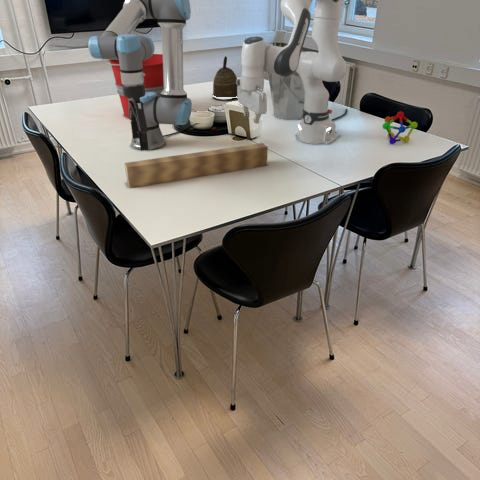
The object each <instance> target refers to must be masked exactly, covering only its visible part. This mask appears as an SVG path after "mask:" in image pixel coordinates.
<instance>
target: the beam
mask: <svg viewBox="0 0 480 480" xmlns="http://www.w3.org/2000/svg"><path fill="white" fill-rule="evenodd" d="M268 150H269V149H268V146H267V145H266V144H265V143H263V142H260V143H255V144H254V143H252V144H247V145H239V146H232V147H226V148H218V149H212V150H211V149H210V150H205V151H197V152H190V153H184V154H183V153H182V154H177V155H170V156H169V155H168V156H163V157H155V158H150V159H142V160H135V161H129V162H124V170H125V175H126V176H125V178H126V184H127V185H128V188H129V189H130V188H137V187H143V186H149V185H155V184H160V183H167V182H173V181H180V180H186V179H191V178H199V177H205V176H209V175H216V174H221V173H228V172H229V173H230V172H235V171H239V170H240V171H241V170H245V169H251V168H252V169H253V168H259V167H266V166H267V165H268Z"/></svg>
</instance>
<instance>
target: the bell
mask: <svg viewBox="0 0 480 480" xmlns="http://www.w3.org/2000/svg"><path fill="white" fill-rule="evenodd" d="M227 63H228V57H227V56H224V58H223V63H222V67H221V68H219V69H218V70H217V71H216V73H215V75H214V78H213V81H212V83H213V84H212V95H214V96H216V97H236V96H237V87H238V85H237V83H236V81H237V79H238V77H237V75H236V73H235V72H234V70H232V69H231V68H230V67H227Z"/></svg>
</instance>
